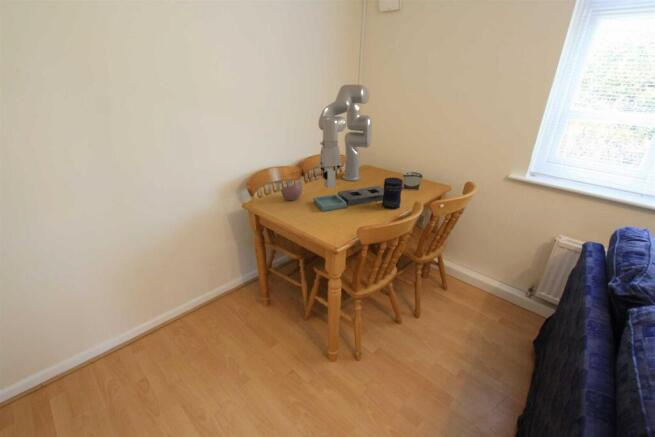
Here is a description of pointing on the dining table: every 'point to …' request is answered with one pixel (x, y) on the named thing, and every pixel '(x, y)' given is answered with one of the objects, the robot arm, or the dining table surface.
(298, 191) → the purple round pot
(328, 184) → the steel block
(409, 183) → the food container
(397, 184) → the storage jar
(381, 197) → the grey block with hole
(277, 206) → the dining table surface
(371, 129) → the robot arm
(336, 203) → the parts tray
